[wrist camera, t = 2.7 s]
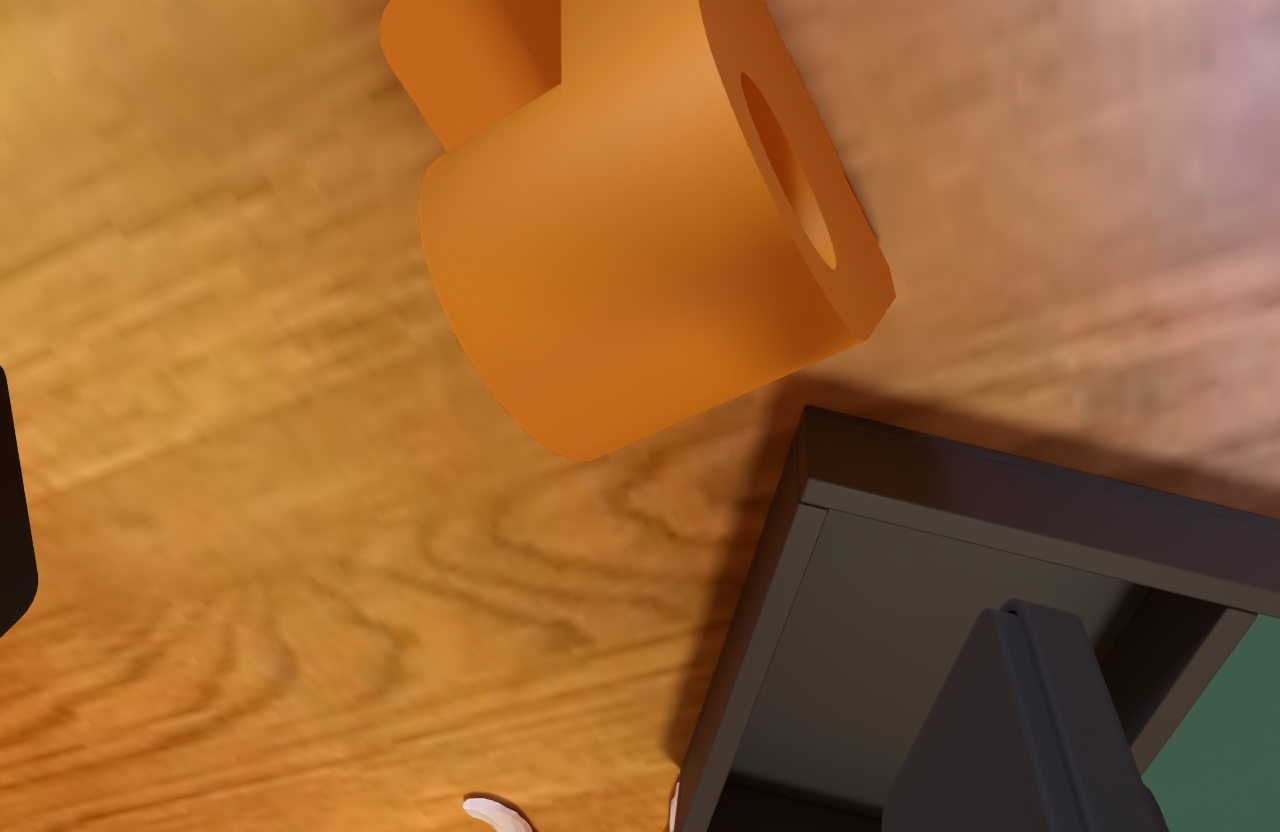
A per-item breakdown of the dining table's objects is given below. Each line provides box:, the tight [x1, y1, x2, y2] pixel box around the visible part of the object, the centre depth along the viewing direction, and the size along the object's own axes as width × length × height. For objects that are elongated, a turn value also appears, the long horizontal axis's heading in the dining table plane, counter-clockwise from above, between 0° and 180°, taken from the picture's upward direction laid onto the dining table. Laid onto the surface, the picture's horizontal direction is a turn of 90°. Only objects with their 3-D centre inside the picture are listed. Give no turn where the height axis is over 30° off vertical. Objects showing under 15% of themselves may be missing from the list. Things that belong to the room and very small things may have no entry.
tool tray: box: [673, 405, 1280, 832], centre depth 29 cm, size 22×16×4 cm
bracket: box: [380, 0, 896, 461], centre depth 18 cm, size 11×7×12 cm, turn 30°
